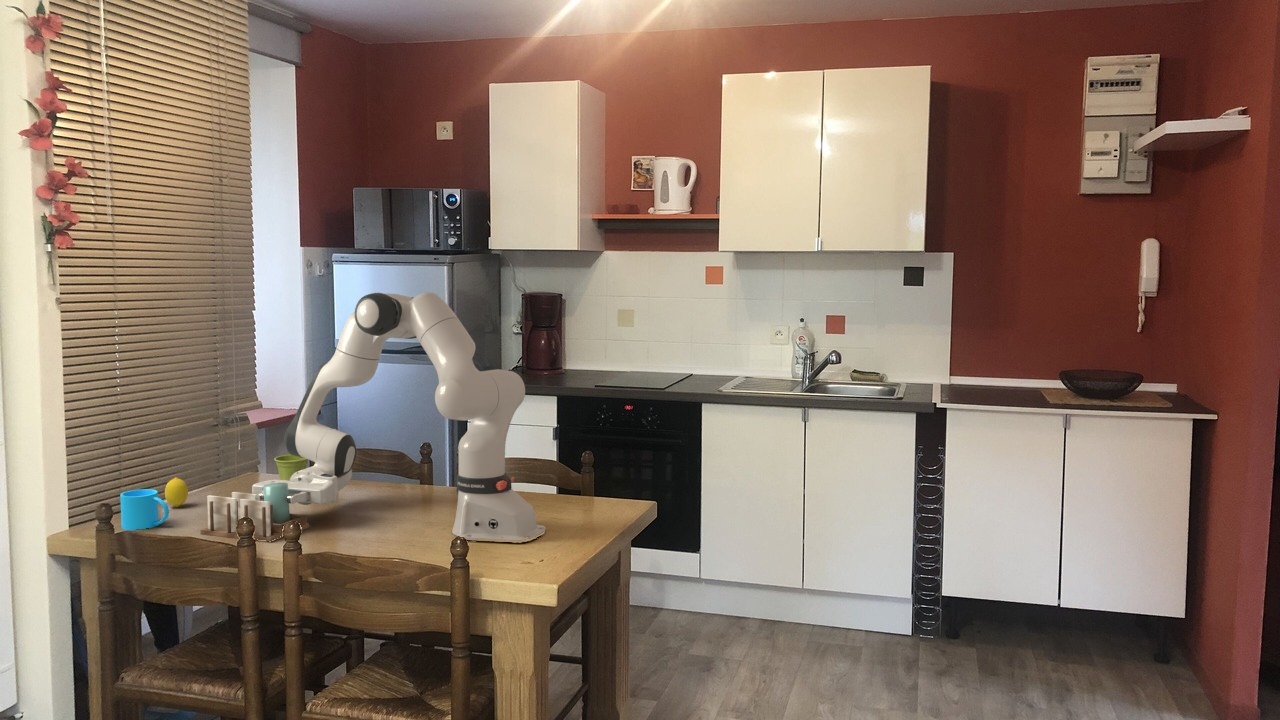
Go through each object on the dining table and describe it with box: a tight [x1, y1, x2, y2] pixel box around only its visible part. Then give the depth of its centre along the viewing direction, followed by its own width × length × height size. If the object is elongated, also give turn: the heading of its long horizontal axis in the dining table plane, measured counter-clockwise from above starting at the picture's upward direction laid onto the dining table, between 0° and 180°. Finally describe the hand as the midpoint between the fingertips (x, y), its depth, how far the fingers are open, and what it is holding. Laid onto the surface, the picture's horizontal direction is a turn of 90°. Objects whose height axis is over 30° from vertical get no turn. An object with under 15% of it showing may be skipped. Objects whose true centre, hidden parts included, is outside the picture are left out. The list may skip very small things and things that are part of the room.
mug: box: [120, 488, 170, 531], centre depth 245 cm, size 12×8×8 cm
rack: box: [199, 491, 310, 541], centre depth 242 cm, size 20×14×9 cm
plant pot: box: [274, 454, 309, 481], centre depth 287 cm, size 9×9×9 cm
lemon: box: [164, 476, 189, 508], centre depth 263 cm, size 6×6×8 cm
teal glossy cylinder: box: [263, 483, 291, 524], centre depth 242 cm, size 6×6×10 cm
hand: (275, 499), depth 241 cm, fingers open, 6 cm apart
